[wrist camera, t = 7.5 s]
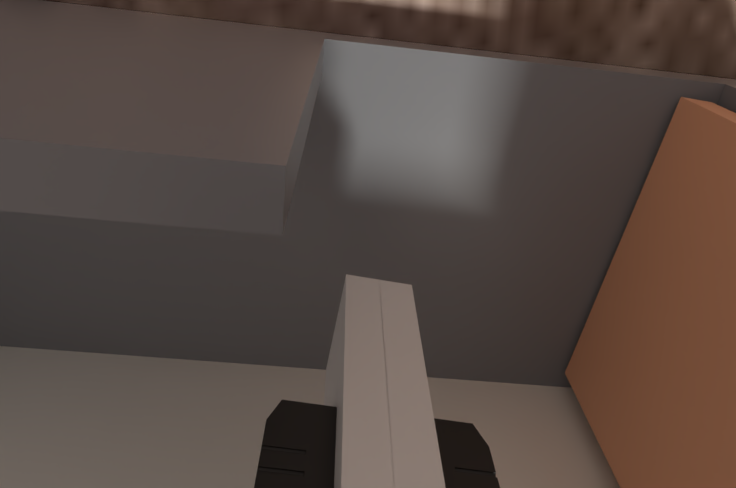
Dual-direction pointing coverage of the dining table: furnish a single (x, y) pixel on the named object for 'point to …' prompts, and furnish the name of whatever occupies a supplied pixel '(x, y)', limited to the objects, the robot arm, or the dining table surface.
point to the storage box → (296, 234)
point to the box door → (670, 318)
